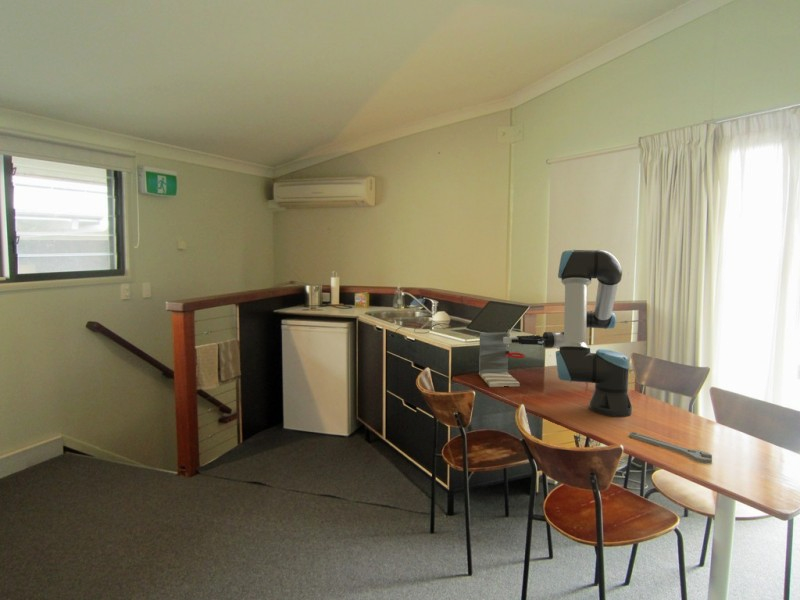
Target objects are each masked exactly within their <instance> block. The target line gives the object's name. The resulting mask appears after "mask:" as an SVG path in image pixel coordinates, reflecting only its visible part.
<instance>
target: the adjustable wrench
mask: <svg viewBox="0 0 800 600" xmlns="http://www.w3.org/2000/svg"><path fill="white" fill-rule="evenodd" d="M629 437H630V438H633V439H636V440H638V441H641V442H645V443H648V444H651V445H654V446H657V447H661V448H663V449H667V450H669V451H673V452H675V453H679V454H681V455H684V456H685V457H688V458H690V459H691V460H693V461H695V462H698V463H702V464H707V465H709V464H712V463H713V455H712V454H711V453H709V452H707V451H704V450H701V449H691V448H686V447H684V446H683V447H682V446H680V445H679V446H678V445H676V444H673V443H670V442H667V441H663V440H661V439H657V438H654V437H652V436H648V435H644V434H641V433H638V432H634V431H630V432H629Z"/></svg>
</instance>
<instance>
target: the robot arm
mask: <svg viewBox="0 0 800 600" xmlns="http://www.w3.org/2000/svg"><path fill="white" fill-rule="evenodd" d="M559 260H560V261H559V265H558V272H557V278H558V279H560V280H561V281H560V282H561V283H562V285H563V286H564V310H563V311H564V316H563V318H564V320H563V331H545V332H543V333H542V335H539V334H537V335H534V334H532V335H531V334H530V335H517V336H510V338H507V337H503V343H504V344H505V343H509V344H516V345H517V344H520V345H535V346H543V347H544V348H546V349H551V348H557V349H558V350H556V351H555V362H556V369H557V378H558V379H559V380H561V381H566V382H570V383H571V382H575V383H590V384H594V391H593V394H592V395H591V398H590V401H589V410H591V411H592V412H594V413H597V414H600V415H603V416H606V417H607V416H609V417H627V416H630V415H632V413H633V412H632V411H633V408H632V407H633V406H632V403H631V400H630V396H629V394H628V391H629V389H628V388H629V371H630V364H629V363H630V362H629V361H630V358H629V357H628V356H627V355H626V354H624V353H622V352H619V351H616V350H615V351H614V350H610V349H603V348H601V349H597V350H596V352H595V353H593V352H591V347H589V346H588V344H587V340H588V339H587V329H588V328H590V329H605V330H607V329H615V327H616V322H617V321H616V320H617V319H616V313H614V312H613V310H614V305H615V300H616V296H617V295H616V293H617V288H618V284H619V283H620V282H621V281H622V277H623V269H622V266H621V264H620V262H619V260H618V259H617V258H616V256H614V255H613V254H612V253H610V252H609V251H606V250H603V249H596V250H595V249H571V250H570V249H569V250H564V251H562V253H561V255H560V259H559ZM592 279H596V280H597V281H598V282H597V283H598V284H597V288H596V289H597V291H596V296H595V297H596V298H595V305H594V311H588V286H589V285H590V284H592Z"/></svg>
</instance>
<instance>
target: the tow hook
mask: <svg viewBox="0 0 800 600" xmlns="http://www.w3.org/2000/svg"><path fill="white" fill-rule="evenodd" d="M507 333H508V334H507V338H510V337H511V334H510V328H509V329H507ZM505 355H506V357H508V358H513V359H514V358H516V359H524V358H526V354H524V353H521V352H510V343H507V345H506V352H505Z"/></svg>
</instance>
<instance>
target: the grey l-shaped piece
mask: <svg viewBox="0 0 800 600" xmlns="http://www.w3.org/2000/svg"><path fill="white" fill-rule="evenodd" d="M507 334H508V331H507V332H504V331H503V332H479V349H478V350H479V354H478V356H479V357H478V359H479V360H478V364H479V365H478V374H479V376H480V377H481V379H483V381H484V382H485V383H486V384H487V385H488V387H489V388H501V387H504V386H509V387H521V385H520V384H521V383H520V382H519V380H517V379H516V378H515V377H513V375H511V374H510V373H509V369H508V368H509V357H506V355H505V352H506V345H507V343H505V344H504V343H503V337H507ZM504 388H505V387H504Z"/></svg>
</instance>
